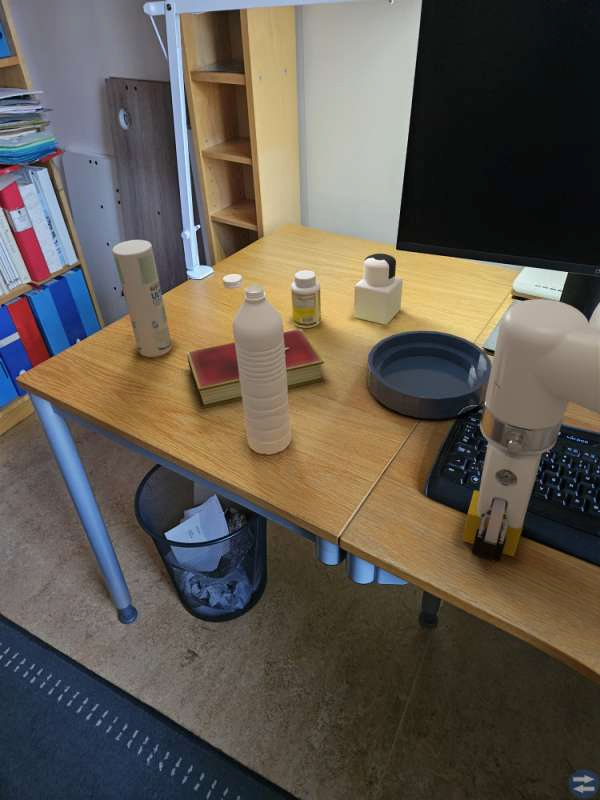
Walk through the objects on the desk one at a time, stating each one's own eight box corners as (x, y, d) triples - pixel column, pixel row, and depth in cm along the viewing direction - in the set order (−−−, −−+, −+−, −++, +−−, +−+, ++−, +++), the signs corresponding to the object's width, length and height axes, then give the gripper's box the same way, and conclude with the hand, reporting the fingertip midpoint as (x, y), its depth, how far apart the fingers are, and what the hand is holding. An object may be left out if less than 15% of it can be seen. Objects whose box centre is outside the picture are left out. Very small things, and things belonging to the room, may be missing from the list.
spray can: (167, 357, 103) (145, 254, 91) (133, 357, 103) (106, 255, 91) (176, 339, 108) (156, 239, 96) (143, 339, 108) (119, 239, 96)
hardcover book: (189, 369, 99) (186, 349, 97) (301, 345, 104) (300, 326, 101) (202, 408, 90) (198, 387, 88) (324, 380, 95) (323, 359, 92)
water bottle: (300, 440, 83) (291, 286, 68) (267, 462, 80) (250, 305, 64) (261, 414, 88) (245, 266, 73) (229, 434, 85) (205, 283, 70)
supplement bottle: (307, 312, 114) (305, 265, 108) (326, 321, 111) (326, 273, 105) (287, 322, 111) (284, 274, 105) (306, 332, 108) (304, 283, 102)
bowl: (496, 364, 97) (500, 342, 94) (474, 434, 83) (479, 410, 80) (387, 343, 103) (388, 322, 101) (350, 404, 89) (350, 381, 87)
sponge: (518, 531, 68) (526, 504, 65) (513, 556, 65) (522, 529, 62) (468, 517, 70) (474, 489, 67) (461, 541, 67) (467, 513, 64)
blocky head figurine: (368, 302, 116) (371, 247, 109) (400, 310, 113) (405, 253, 106) (353, 317, 112) (354, 261, 104) (386, 325, 109) (390, 268, 101)
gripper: (552, 488, 49) (513, 603, 60) (566, 381, 61) (531, 493, 72) (465, 465, 52) (443, 580, 63) (496, 367, 64) (472, 477, 75)
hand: (490, 532), depth 67 cm, fingers open, 6 cm apart
